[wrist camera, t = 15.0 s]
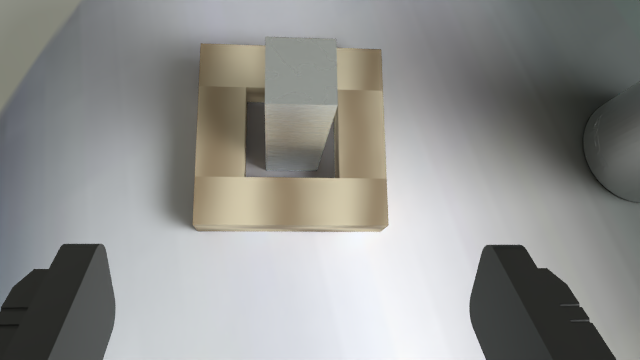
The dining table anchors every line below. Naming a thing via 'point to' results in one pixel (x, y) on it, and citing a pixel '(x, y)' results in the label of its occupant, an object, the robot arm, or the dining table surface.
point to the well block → (278, 192)
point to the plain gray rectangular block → (298, 100)
